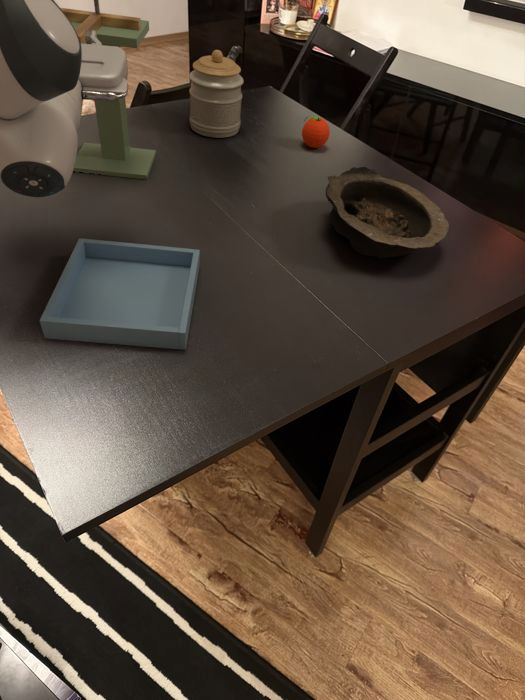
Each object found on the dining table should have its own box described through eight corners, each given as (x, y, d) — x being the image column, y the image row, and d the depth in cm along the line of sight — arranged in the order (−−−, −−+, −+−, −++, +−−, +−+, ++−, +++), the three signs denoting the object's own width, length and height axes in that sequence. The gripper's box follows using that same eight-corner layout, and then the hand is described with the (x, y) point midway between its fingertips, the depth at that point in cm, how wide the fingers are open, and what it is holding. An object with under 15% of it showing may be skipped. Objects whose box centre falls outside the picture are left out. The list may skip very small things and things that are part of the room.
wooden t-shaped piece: (28, 40, 76) (22, 11, 73) (57, 16, 86) (52, -10, 83) (124, 52, 77) (121, 24, 74) (141, 27, 87) (139, 1, 85)
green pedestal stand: (70, 171, 100) (41, 26, 81) (85, 146, 109) (62, 9, 90) (147, 179, 101) (136, 38, 83) (156, 154, 110) (148, 20, 91)
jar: (187, 116, 126) (186, 39, 113) (236, 118, 128) (241, 43, 116) (191, 138, 117) (191, 57, 104) (243, 139, 120) (249, 61, 107)
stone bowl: (294, 209, 99) (304, 166, 93) (392, 206, 108) (408, 166, 102) (350, 282, 84) (367, 236, 77) (459, 270, 93) (483, 229, 87)
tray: (44, 338, 68) (39, 320, 66) (82, 255, 82) (79, 238, 79) (185, 350, 70) (185, 333, 67) (199, 266, 83) (199, 249, 81)
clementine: (291, 142, 122) (295, 113, 117) (309, 136, 125) (314, 108, 120) (313, 155, 118) (319, 125, 113) (332, 149, 122) (338, 120, 117)
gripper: (124, 79, 63) (128, 16, 69) (-44, 66, 60) (-25, 1, 66) (129, 120, 69) (133, 59, 75) (-25, 110, 65) (-8, 47, 71)
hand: (58, 31), depth 70 cm, fingers open, 8 cm apart
